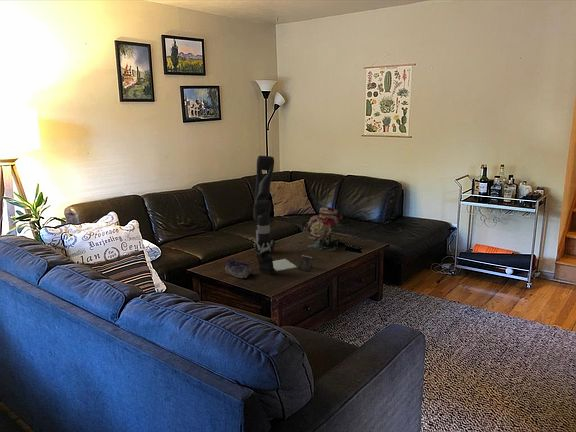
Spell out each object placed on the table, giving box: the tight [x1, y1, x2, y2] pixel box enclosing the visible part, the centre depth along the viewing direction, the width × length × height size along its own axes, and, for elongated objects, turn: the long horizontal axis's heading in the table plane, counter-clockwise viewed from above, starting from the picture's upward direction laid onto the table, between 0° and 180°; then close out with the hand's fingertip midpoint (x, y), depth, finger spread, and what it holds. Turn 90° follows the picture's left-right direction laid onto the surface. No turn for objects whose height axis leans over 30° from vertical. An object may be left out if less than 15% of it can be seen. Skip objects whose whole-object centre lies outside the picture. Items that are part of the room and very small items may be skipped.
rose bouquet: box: [306, 206, 347, 252], centre depth 337 cm, size 26×29×30 cm
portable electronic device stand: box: [296, 254, 315, 273], centre depth 294 cm, size 9×8×8 cm
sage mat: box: [273, 258, 298, 272], centre depth 303 cm, size 18×14×1 cm
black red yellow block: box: [256, 250, 276, 276], centre depth 289 cm, size 4×13×15 cm, turn 41°
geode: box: [224, 257, 253, 279], centre depth 288 cm, size 20×12×10 cm, turn 53°
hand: (265, 257), depth 289 cm, fingers closed on black red yellow block, 4 cm apart
